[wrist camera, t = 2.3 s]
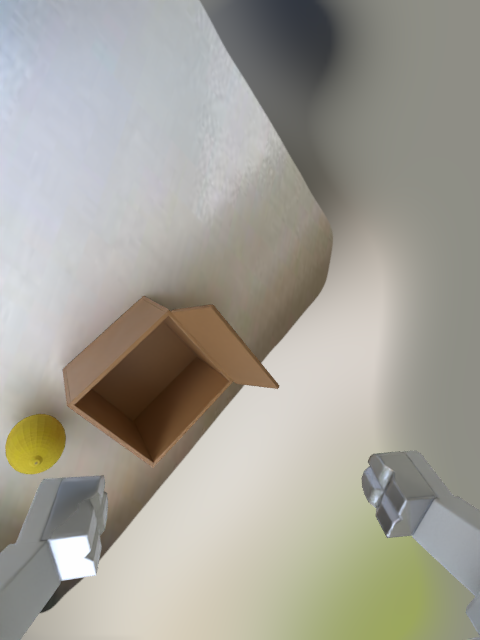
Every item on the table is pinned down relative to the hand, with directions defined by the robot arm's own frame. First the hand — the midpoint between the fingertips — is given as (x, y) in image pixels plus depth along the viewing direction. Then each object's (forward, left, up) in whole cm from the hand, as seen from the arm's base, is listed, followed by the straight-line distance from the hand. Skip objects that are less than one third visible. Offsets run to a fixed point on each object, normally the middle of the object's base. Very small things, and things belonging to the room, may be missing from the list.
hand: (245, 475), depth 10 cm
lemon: (+6, -15, -35) cm, 39 cm away
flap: (+9, +5, -21) cm, 24 cm away
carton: (+9, -2, -35) cm, 36 cm away
